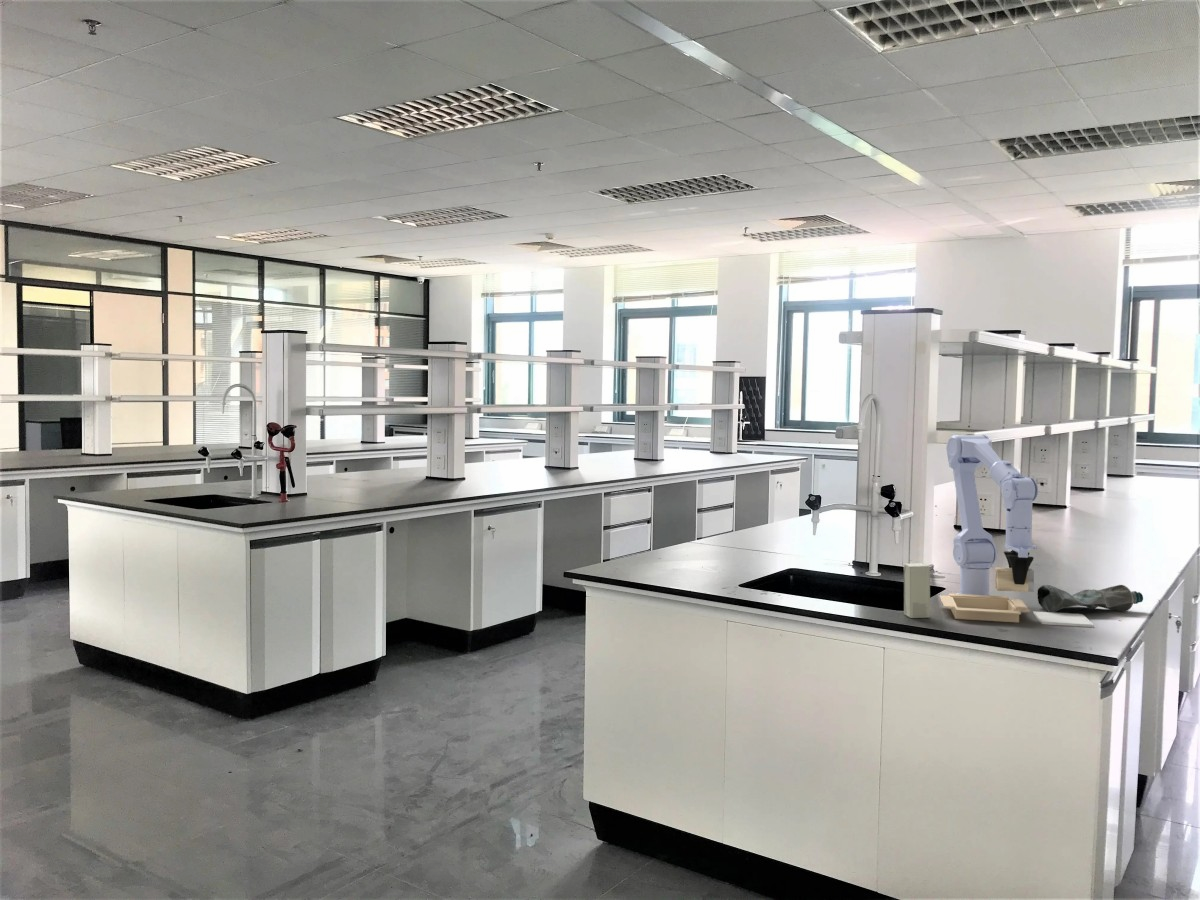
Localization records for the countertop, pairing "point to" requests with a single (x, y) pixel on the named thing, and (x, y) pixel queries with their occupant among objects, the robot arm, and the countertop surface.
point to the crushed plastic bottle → (1089, 598)
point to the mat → (1063, 619)
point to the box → (917, 590)
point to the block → (1007, 582)
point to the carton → (984, 607)
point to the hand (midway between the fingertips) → (1017, 582)
